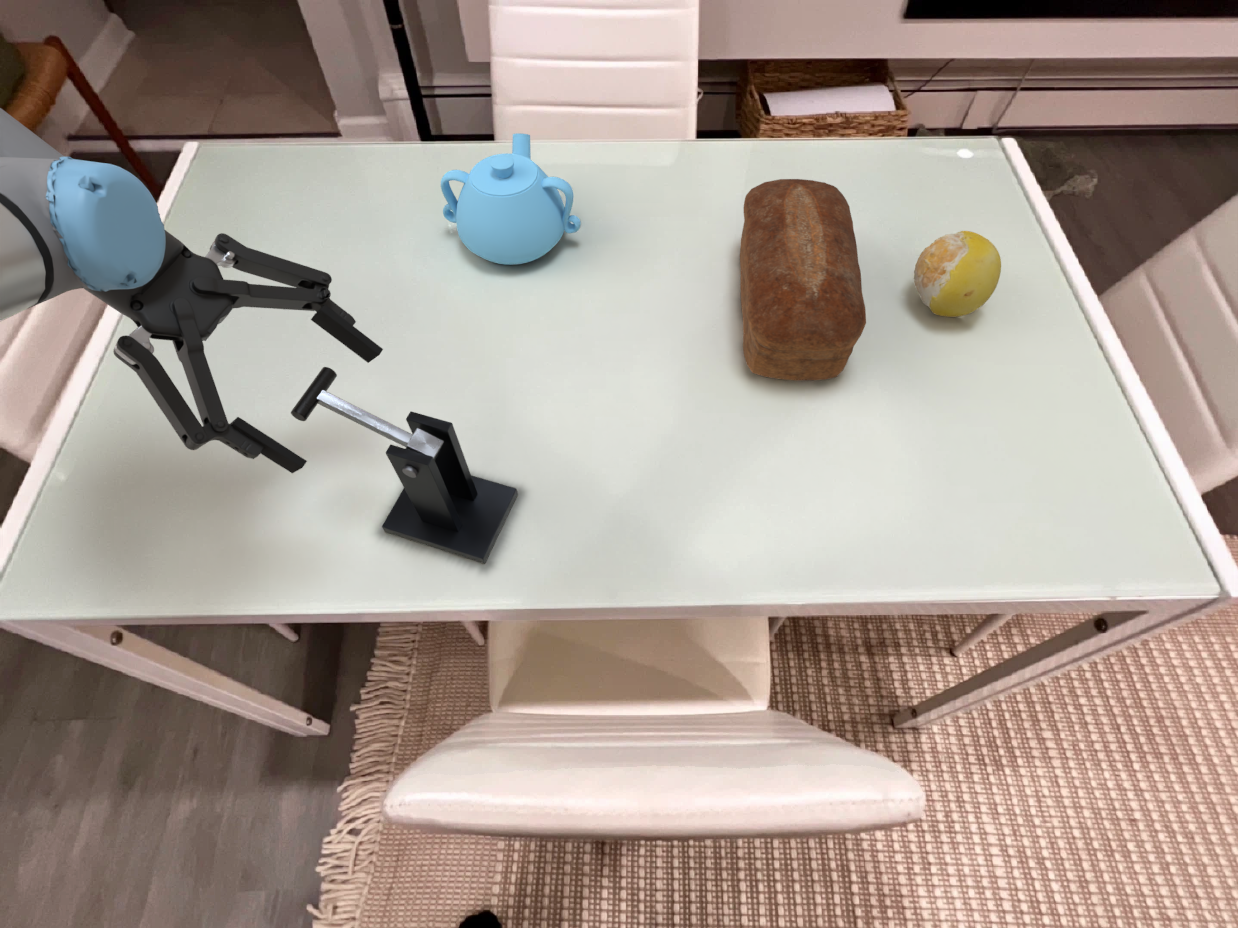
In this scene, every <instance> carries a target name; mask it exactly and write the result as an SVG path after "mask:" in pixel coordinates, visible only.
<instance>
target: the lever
mask: <svg viewBox="0 0 1238 928" xmlns="http://www.w3.org/2000/svg"><path fill="white" fill-rule="evenodd" d="M337 377H338V374H337V372H335V370H334V369H333V368H331V367H329V366H323V367H322V368H321V370H319V372H318V374H317V375H316V376H315V378H314V379H313V380H312V382H311V383H310V384H309V386H308V388H307V389H306V390H305V391H304V393H303V394H302V395H301V397H300V398H299V400H298V401H297V403H296V404H295V405H294V407H293V408H292V410H291V411H290V414H291V416H292V417H293V418H295V419H296V420H298V421H301V422H305V421H307V420H308V418H309V417H310V415H311V414H312V413H313V411H314V410H315V408H316V407H317V406H318V405H320V406H322V407H324V408H326V409H328V410H329V411H332V412H333V413H336V414H338V415H340V416H342V417H344V418H346V419H348V420H350V421H352V422H354V423H356V424H358V425H360V426H363V427H364V428H366V429H367V430H370V431H372V432H374V433H376V434H378V435H380V436H382V437H384V438H386V439H388V440H390V441H392V442H394V443H396V444H398V445H401V446H402V447H403V448H404V447H405V449H408V450H411V451H415V452H418V453H422V454H425V455H429V456H432V457H433V458H434V461H435V460H436V458H437V456H438V454H439V453H440V451H441V448H442V445H443V443H444V441H443V440H441V439H439V438H437V437H435V436H433V435H431V434H429V433H427V432H425V431H423V430H421V429H419V428H416V430H415V432H414V433H413V434H412V432H409V431H406V430H405V429H403V428H401V427H399V426H397V425H395V424H393V423H390V422H388V421H386V420H385V419H382V418H381V417H378V416H377V415H375V414H373V413H371V412H370V411H369V412H368V411H366V410H365V409H363V408H360V407H358V406H356V405H355V404H352V403H351V402H349V401H346V400H345V399H343V398H340V397H339V396H336V395H335V394H333V393H331V392H329V391H328V390H329V388H330V386H331V385H332V384H333V382H334V381H335V380H336V378H337Z"/></svg>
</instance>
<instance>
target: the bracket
mask: <svg viewBox="0 0 1238 928" xmlns="http://www.w3.org/2000/svg"><path fill="white" fill-rule="evenodd" d="M405 421H406V423H407V426H408V427H409V430H410V433H411V434H413V433H414V432H415V430H416V428H419V429H421V430H423V431H425V432H427V433H429V434H431V435H433V436H435V437H437V438H439V439H441V440H443V441H444V443H443V445H442V448H441V451H440V453H439V454H438V456H437V458H436V460H435V461H434V458H433V457H432V456H429V455H425V454H422V453H418V452H415V451H411V450H408V449H406V447H405V448H404V447H401V446H398V445H394V444H389V446H388V448H387V449H386V451H385V454H386V456H387V459H388V460H389V462H390V465H391V466H392V468H393V470H394V472H395V473H396V475H397V477H398V479H399V481H400V483H401V485H402V487H403V489H402V491H401V492H400V494H399V495H398V497H397V499H396V501H395V502H394V504H393V506H392V508H391V509H390V511H389V513H388V514H387V517H386V518H385V520H384V522H383V523H382V525H381V528H382V530H383V531H384V533H387V534H390V535H393V536H396V537H400V538H403V539H406V540H409V541H412V542H416V543H418V544H423V545H424V546H428V547H431V548H434V549H438V550H440V551H444V552H447V553H450V554H453V555H456V556H460V557H463V558H466V559H468V560H472V561H475V562H479V563H481V564H486V563H487V561H488V558H489V556H490V554H491V553H492V550H493V548H494V546H495V544H496V543H497V540H498V537H499V535H500V533H501V531H502V529H503V527H504V524H505V523H506V520H507V518H508V516H509V514H510V512H511V510H512V508H513V506H514V503H515V501H516V500H517V497H518V496H519V493H518V489H517V488H516V487H513V486H509V485H506V484H502V483H499V482H496V481H493V480H490V479H489V480H488V479H485V478H482V477H478V476H476V475H473V474H472V473H471V471H470V468H469V465H468V462H467V460H466V457H465V455H464V452H463V449H462V447H461V446H462V445H461V444H460V441H459V439H458V435H457V432H456V430H455V427H454V424H453V422H451V421H447V420H443V419H440V418H436V417H434V416H429V415H425V414H422V413H418V412H415V411H409V413H408V415H407V416H406V418H405Z"/></svg>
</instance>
